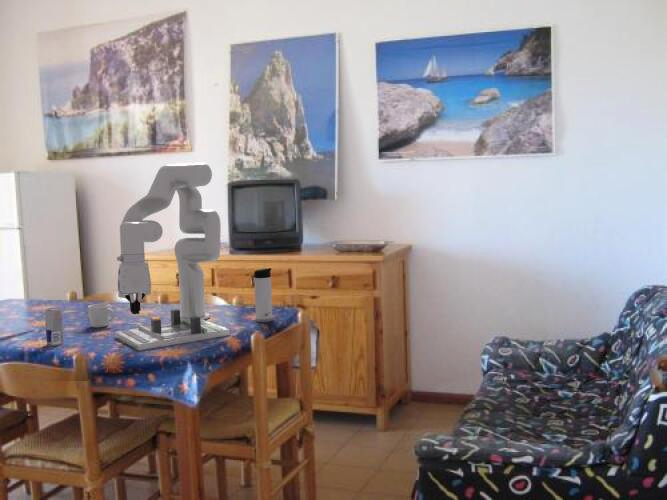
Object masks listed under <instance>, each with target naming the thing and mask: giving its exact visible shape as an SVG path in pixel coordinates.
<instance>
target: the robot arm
mask: <svg viewBox="0 0 667 500" xmlns="http://www.w3.org/2000/svg"><path fill="white" fill-rule="evenodd" d="M212 176H213V173H212V169H211V167H210V166H209V165H208V164H207V163H205V162H195V163H193V162H192V163H176V164H165V165H163V166H161V167H160V168H159V169H158V171H157V172H156V175H155V178H154V179H153V181H152V184H151V186H150V188H149V190H148V193H147V194H146V195H145V196H143V197H142V198H140V199H139V200H137V201H136V202H134V203H133V205H131V206H130V208H128V209H127V211H126V212H125V215H124V216H123V219H122V221H121V223H120V225H119V238H120V239H119V241H120V242H119V243H120V255H119V256H116V261H117V262H118V261H119V262H120V263H119V266H118V272H117V291H118V294H117V296H118V298H122V299H126V300H127V301H128V302H129V310H130V311H129V312H130V313H131V314H132V315H139V314H140V311H141V309H142V308H141V302H142V300H143V299H144V297H146V296H149V295H151V294H152V292H151V290H152V280H151V273H150V267H149V264H148V262H147V261H145V259H146V258H145V257H146V256H145V243H155V242H157V241H159V240H160V239H161V238H162V236H163V226H162V225H161V223H159V222H158V221H157V220H149V219H148V220H147V219H146V218H147V217H149V216H151V215H154V214H156V213H158V212H159V213H160V212H161V211H164V210H165V209H166V210H167V208H168V207H169V206H171V203H172V201H173V199H174V195H175V193H176V192H177V195H178V200H179V210H178V211H179V212H178V213H179V216H178V219H179V220H178V224H179V229H180V232H182V233H183V234H186V235H204V237H183V238H180V239H179V240H177V242H175V245H174V255H175V259H176V263H177V271H178V284H179V285H178V286H179V304H180V305H179V308H180V319H183V320H185V321H190V317H196V316H197V317H200V319H203V320H208V319H209V318H210V317H211V315H210V313H208V312H206V295H205V294H206V293H205V291H206V290H205V277H204V276H205V275H204V270H203V268H202V267H201V265H200V263H215V262H216V261H218V259H219V258H220V254H221V231H222V230H221V225H222V224H221V217H220V215H219V213H218V212H217V211H216V210H214V209H207V208H206V209H203V206H202V205H203V201H202V200H203V199H202V195H201V193H200V191H199V189H197V188H198V187H204V186H207V185H209V183H210V182H211V181H212V179H213V178H212ZM145 219H146V220H145ZM134 294H135V295H134ZM134 296H135V297H134Z"/></svg>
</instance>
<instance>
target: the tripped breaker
mask: <svg viewBox="0 0 667 500" xmlns="http://www.w3.org/2000/svg"><path fill="white" fill-rule="evenodd" d="M161 320H162V319H161V317H159V316H152V317H150V326H151V330H152V331H154V332H157V333H161V325H162V321H161Z"/></svg>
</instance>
